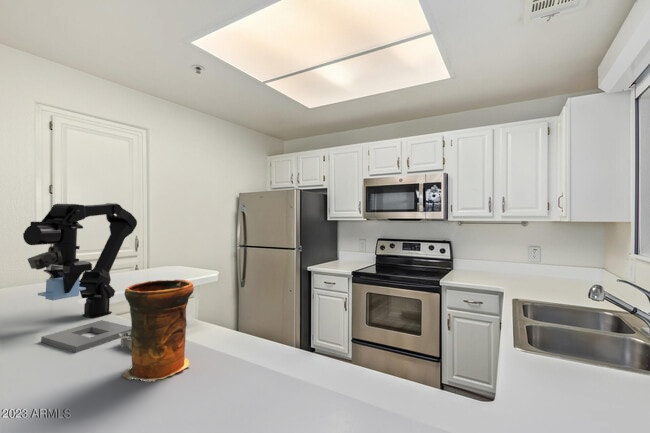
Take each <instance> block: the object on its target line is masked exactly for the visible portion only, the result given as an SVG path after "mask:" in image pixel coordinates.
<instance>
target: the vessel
mask: <svg viewBox="0 0 650 433" xmlns="http://www.w3.org/2000/svg"><path fill="white" fill-rule="evenodd" d="M194 288H195V287H194V284H193V283H192V282H191V281H189V280H186V279H172V280H171V279H170V280H168V279H167V280H161V279H158V280H148V281H147V280H146V281H144V282H140V283H135V284H133V285H130V286H127V287H126V288H125V290H124V297H125V299H126V301H127V302H128V306H129V312H130V313H129V314H130V322H131V327H132V328H131V349H130V351H131V366H132V368H131V369H129V368H127V371H124V374H123V375H122V377H124V378H126V379H128V380H131V379H132V378H133V379H135V378H136V379H135V380H139V379H142V380H143V381H144V380H145V382H151V381H153V382H154V383H155V381H157V380H164V379H165V378H166V379H167V377H170V376H174V375H175V374H176V373H179V372H182V371H184V370H185V369H186V368H189V367H190V366H189V365H190V361H189V359H188V358H186V357H185V352H186V348H185V347H186V334H187V333H186V331H187V330H186V328H187V307H188V306H187V305H188V304H189V298H190V296H192V294H193V293H194ZM142 380H141V381H142ZM148 380H150V381H148ZM153 382H152V383H153Z"/></svg>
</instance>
